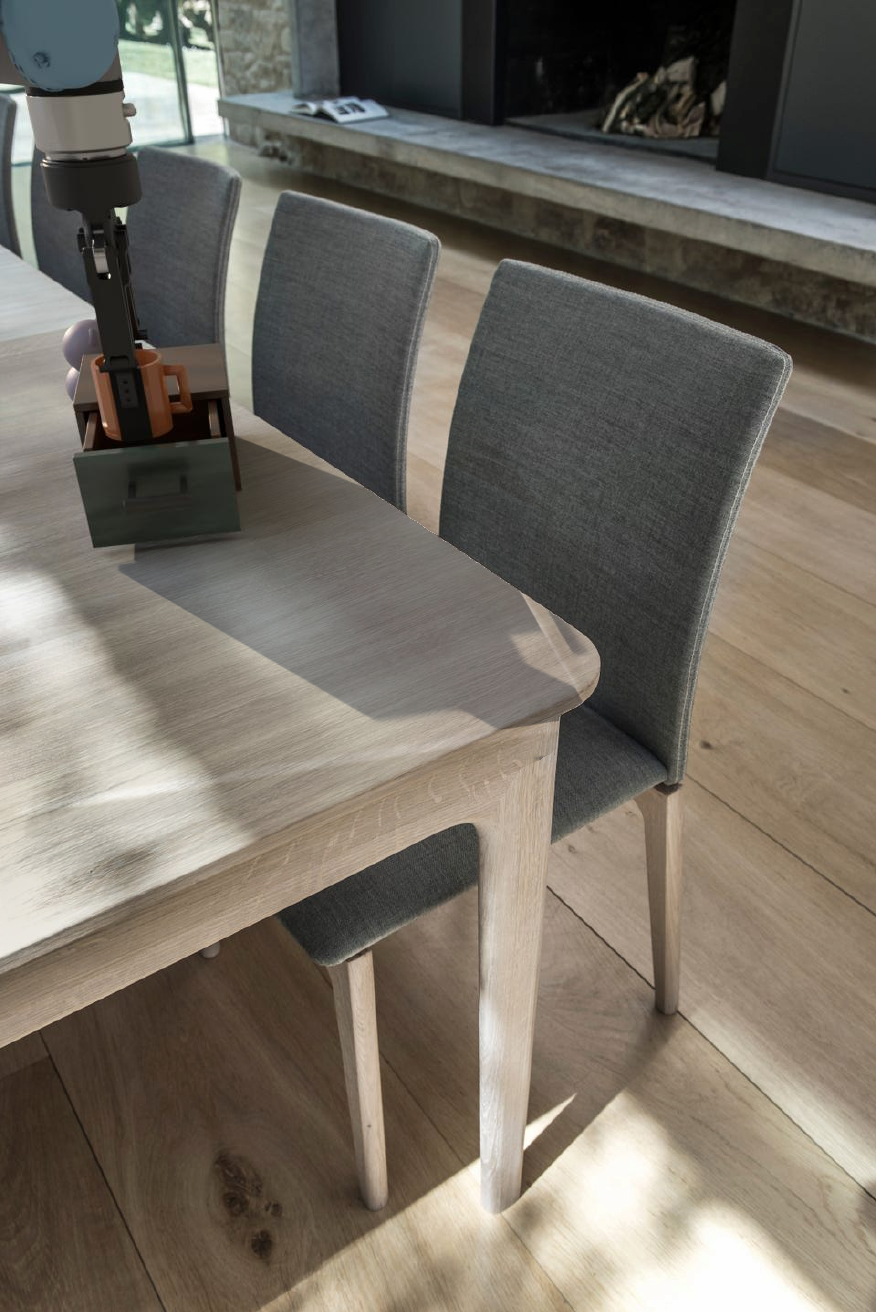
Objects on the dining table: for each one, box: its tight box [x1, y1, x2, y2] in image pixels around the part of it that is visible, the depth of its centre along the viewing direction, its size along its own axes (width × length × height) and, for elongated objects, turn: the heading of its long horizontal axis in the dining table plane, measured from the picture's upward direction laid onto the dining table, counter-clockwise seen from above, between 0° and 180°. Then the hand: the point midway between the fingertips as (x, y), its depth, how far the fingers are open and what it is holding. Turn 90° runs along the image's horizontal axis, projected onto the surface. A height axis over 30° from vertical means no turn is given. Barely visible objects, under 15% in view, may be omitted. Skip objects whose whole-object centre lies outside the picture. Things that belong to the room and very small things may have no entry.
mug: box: [91, 348, 193, 441], centre depth 96 cm, size 8×6×6 cm
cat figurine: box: [61, 317, 103, 402], centre depth 121 cm, size 8×8×12 cm
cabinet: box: [72, 342, 243, 491], centre depth 110 cm, size 16×15×11 cm
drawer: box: [72, 399, 242, 549], centre depth 98 cm, size 19×13×9 cm
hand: (138, 425), depth 97 cm, fingers closed on mug, 6 cm apart
